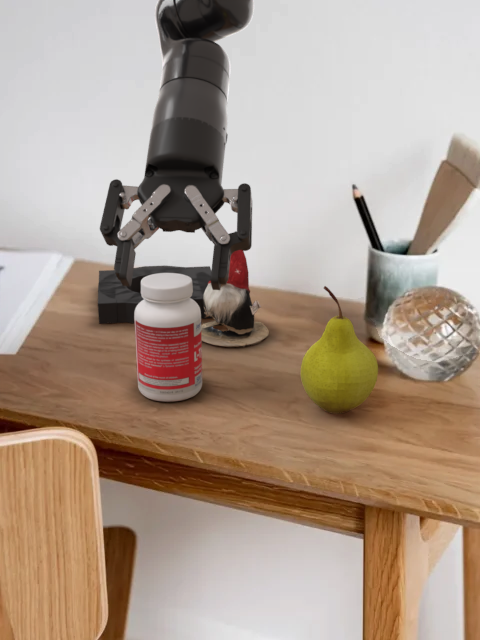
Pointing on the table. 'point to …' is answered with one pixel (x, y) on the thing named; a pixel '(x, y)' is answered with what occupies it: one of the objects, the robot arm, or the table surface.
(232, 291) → the figurine
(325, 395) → the fruit
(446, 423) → the table surface
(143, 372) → the pill bottle
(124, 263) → the robot arm
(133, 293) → the ashtray
